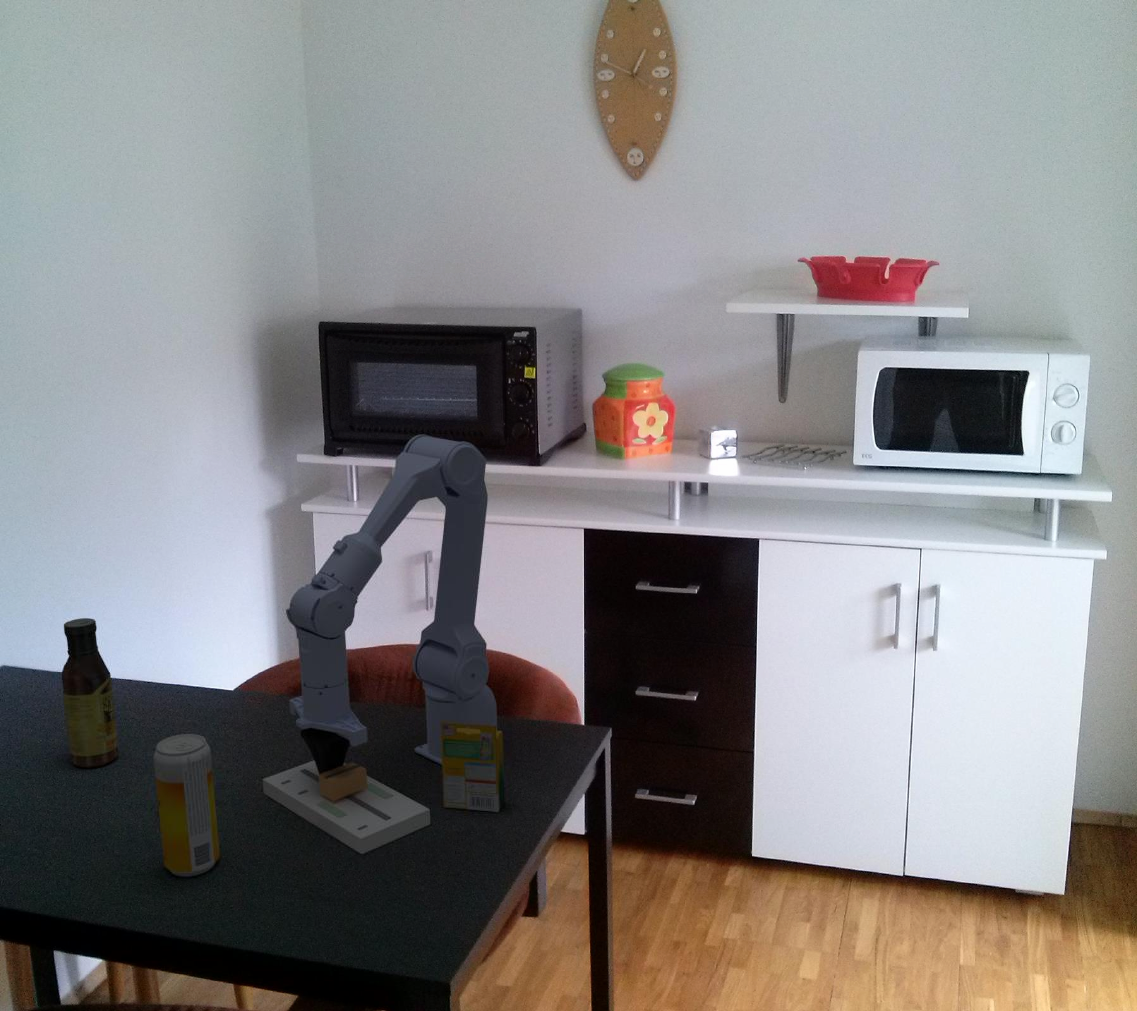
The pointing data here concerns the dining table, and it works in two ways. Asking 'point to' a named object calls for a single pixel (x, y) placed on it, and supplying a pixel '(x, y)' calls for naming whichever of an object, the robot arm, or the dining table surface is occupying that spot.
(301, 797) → the fader console
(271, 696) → the dining table surface
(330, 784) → the fader knob
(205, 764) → the beer can
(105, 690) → the sauce bottle
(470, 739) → the crayon box
